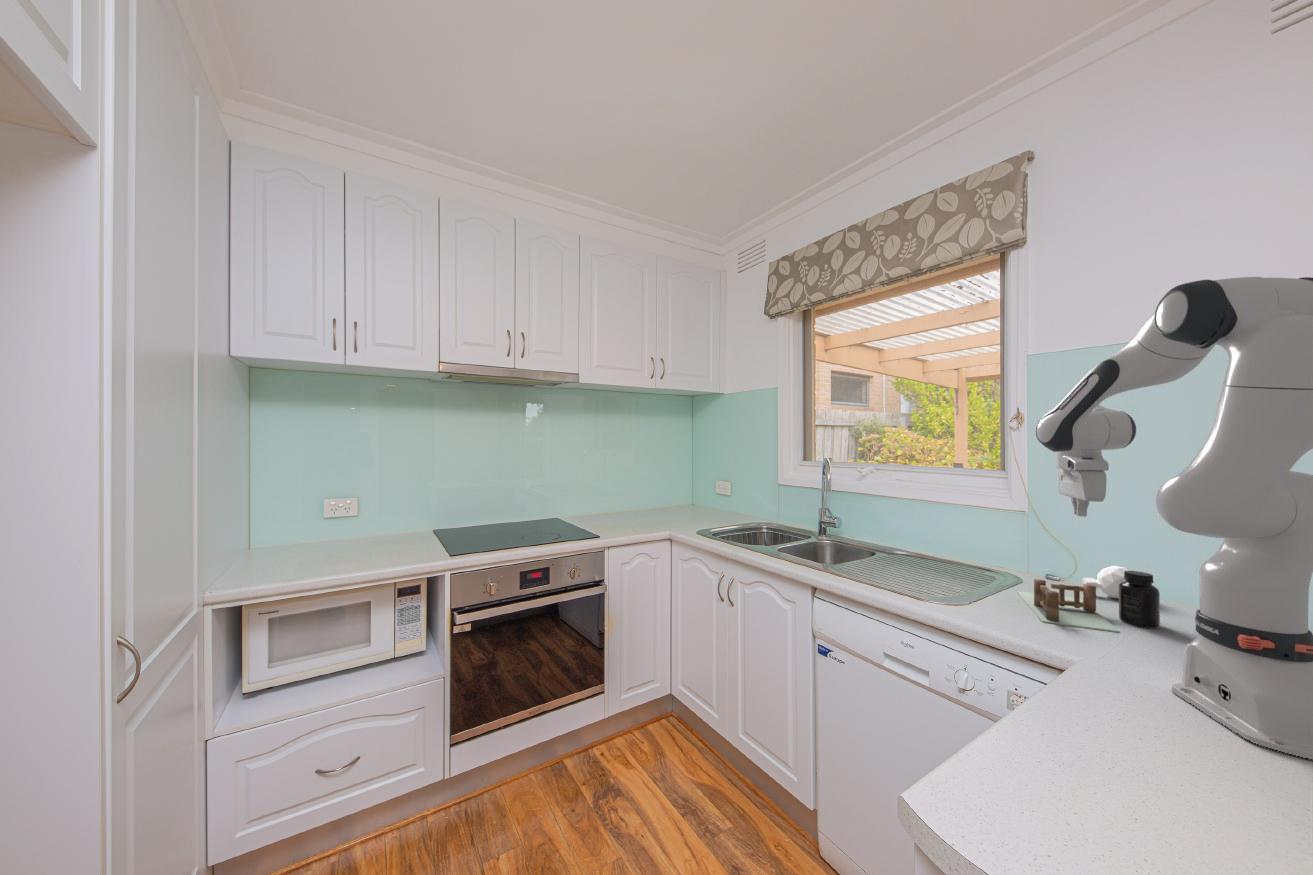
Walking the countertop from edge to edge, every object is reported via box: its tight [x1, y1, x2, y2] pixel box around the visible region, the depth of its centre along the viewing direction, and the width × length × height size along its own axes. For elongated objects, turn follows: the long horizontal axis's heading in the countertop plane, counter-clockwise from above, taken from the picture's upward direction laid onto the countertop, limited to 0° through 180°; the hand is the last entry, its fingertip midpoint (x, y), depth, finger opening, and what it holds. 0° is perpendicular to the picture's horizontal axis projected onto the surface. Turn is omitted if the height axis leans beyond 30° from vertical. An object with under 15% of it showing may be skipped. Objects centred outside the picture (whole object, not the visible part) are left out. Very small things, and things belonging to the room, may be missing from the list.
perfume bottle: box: [1082, 565, 1132, 600], centre depth 128 cm, size 9×9×12 cm
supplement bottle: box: [1118, 570, 1161, 629], centre depth 111 cm, size 7×7×12 cm
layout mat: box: [1016, 590, 1121, 633], centre depth 119 cm, size 24×14×1 cm, turn 154°
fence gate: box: [1050, 583, 1097, 612], centre depth 118 cm, size 9×2×6 cm, turn 65°
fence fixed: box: [1033, 578, 1059, 622], centre depth 117 cm, size 12×2×7 cm, turn 154°
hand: (1080, 515), depth 120 cm, fingers closed
